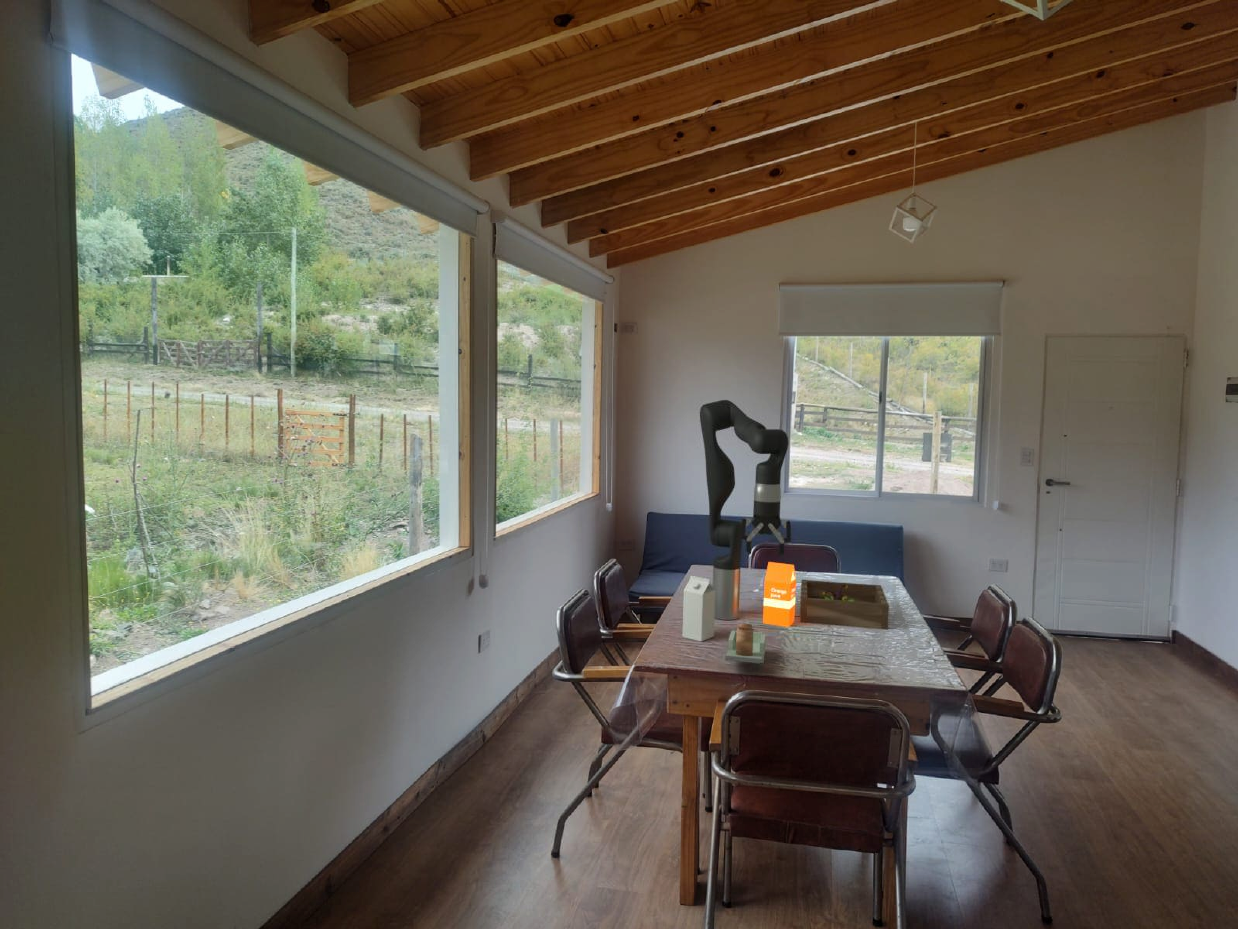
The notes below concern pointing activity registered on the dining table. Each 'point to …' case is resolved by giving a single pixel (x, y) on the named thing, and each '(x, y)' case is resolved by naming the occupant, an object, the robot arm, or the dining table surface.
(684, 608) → the milk carton
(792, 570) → the orange juice
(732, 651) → the panel
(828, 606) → the planter frame
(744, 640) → the brown ridged cylinder
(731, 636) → the crate
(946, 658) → the dining table surface
